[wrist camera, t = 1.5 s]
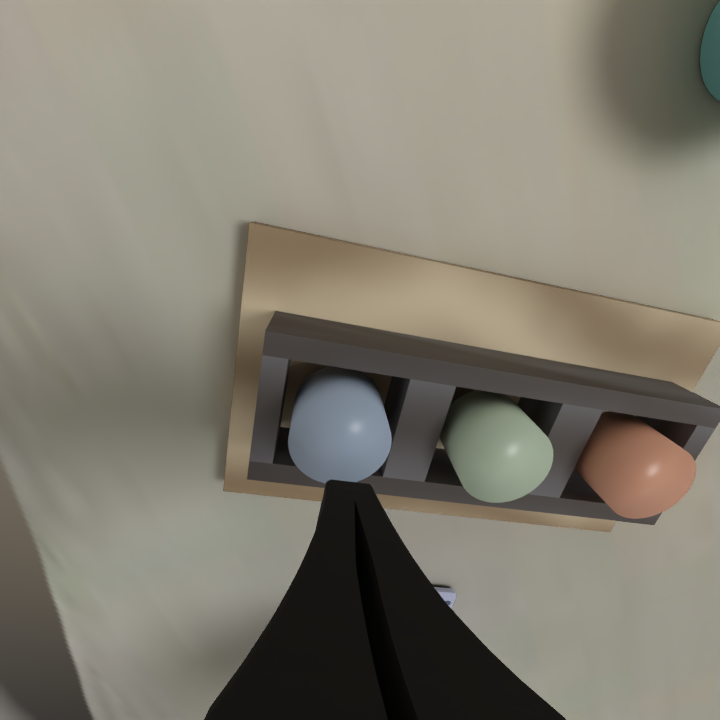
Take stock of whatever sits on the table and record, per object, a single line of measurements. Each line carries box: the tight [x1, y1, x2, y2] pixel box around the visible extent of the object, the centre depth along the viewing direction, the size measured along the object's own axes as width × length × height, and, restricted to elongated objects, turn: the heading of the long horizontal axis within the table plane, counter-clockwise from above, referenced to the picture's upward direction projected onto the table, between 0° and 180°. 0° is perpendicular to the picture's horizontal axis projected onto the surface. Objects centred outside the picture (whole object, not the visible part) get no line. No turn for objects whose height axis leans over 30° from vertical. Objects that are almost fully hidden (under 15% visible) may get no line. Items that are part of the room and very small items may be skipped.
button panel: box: [223, 222, 720, 532], centre depth 19 cm, size 14×24×4 cm, turn 78°
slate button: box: [288, 366, 392, 483], centre depth 16 cm, size 4×4×3 cm
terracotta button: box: [574, 411, 696, 519], centre depth 18 cm, size 4×4×3 cm
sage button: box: [440, 390, 553, 503], centre depth 17 cm, size 4×4×3 cm
